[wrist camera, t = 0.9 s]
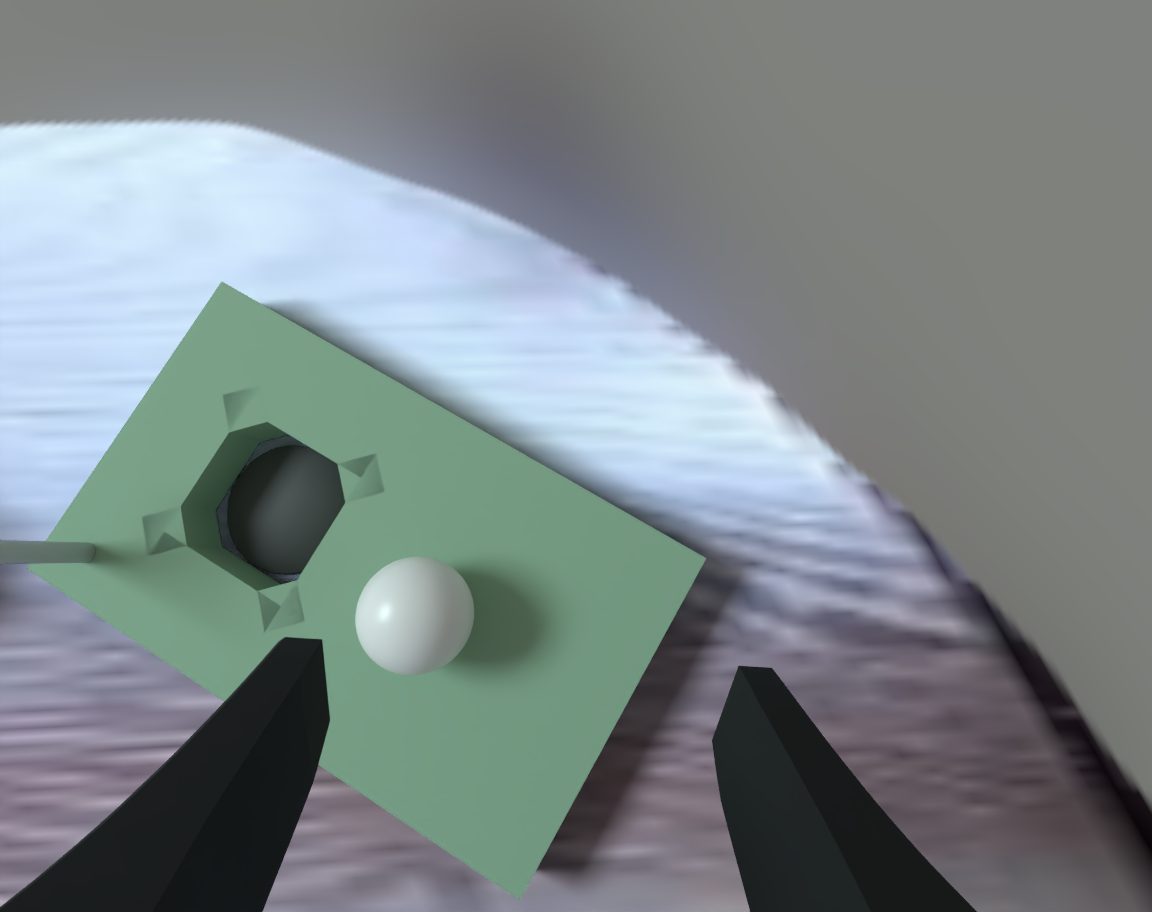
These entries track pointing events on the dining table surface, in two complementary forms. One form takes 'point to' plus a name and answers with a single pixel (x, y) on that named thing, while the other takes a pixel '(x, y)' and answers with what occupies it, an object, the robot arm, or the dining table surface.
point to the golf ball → (414, 615)
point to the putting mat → (353, 556)
